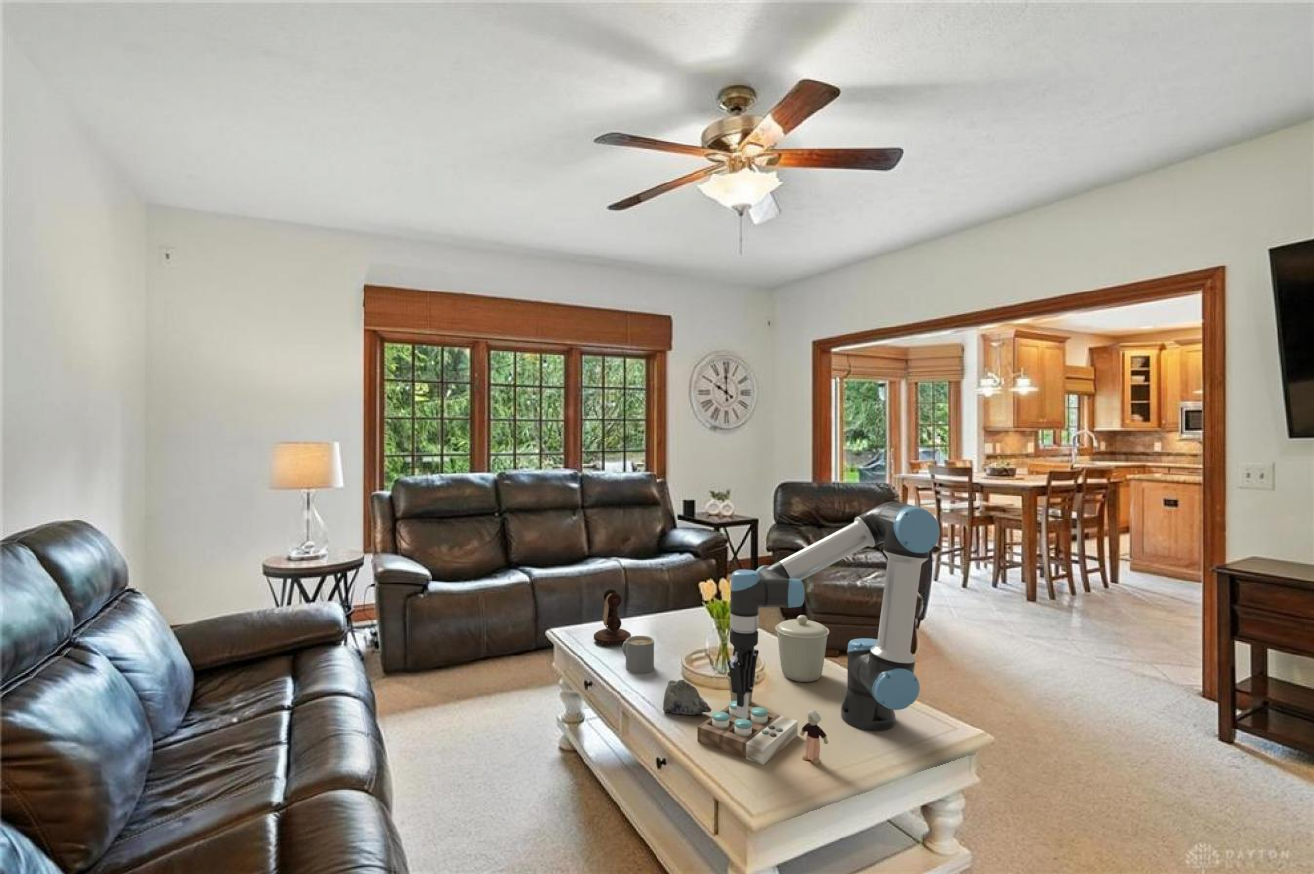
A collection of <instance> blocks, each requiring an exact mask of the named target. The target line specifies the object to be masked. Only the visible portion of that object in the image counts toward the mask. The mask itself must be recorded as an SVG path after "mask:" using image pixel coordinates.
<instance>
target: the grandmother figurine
mask: <svg viewBox="0 0 1314 874" xmlns="http://www.w3.org/2000/svg"><path fill="white" fill-rule="evenodd" d="M807 718H808V720H807V723H806V724H804V725H803V726H802V727H801V731H800V734H799V735H800V736H801V737H804V736H805V733H806V739H805V754H803V755H802V757H801V758H802V759H803V760H804V761H810V762H811V763H812V764H815V765H818V764H819V763H820V762H821V759H820V752H821V741H820V740H821V739H822V740H823V743H824V744H825V745H827V744H828V743H829V741H828V737H827V736H828V735H827V734H826V732H825V731H824V730H823V728H821V727H820V726H819V725H818V724H819V723H820V722H821V721H822V719H821V715H820V714H819V713H818V712H817V711H816V710H809V711H808V712H807ZM820 738H821V739H820Z"/></svg>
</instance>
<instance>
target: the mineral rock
mask: <svg viewBox="0 0 1314 874" xmlns="http://www.w3.org/2000/svg"><path fill="white" fill-rule="evenodd" d="M663 696H664V697H663V701H662V702H663V704H662V706H663V707H662V709H663V712H664V713H673V714H674V715H675V714H677V715H680V714H682V715H684V716H685V715H691V716H695V715H697V714H699V715H701V714H703V713H708V714H709V713H711V712H712V708H711V707H710V706H709V704H708V703H707V702H706V700H704V698H703V697H701V695H700V693H699V692H698V690H697V688H696V687H695V686H693V685H692V684H691V683H690V682H688V681H686V680H685V679H679V680H678V681H675V680H674V679H673V680H672V679H670V680H669V681H668V684H667V686H666V687H665V692H664V695H663Z"/></svg>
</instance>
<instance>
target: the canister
mask: <svg viewBox="0 0 1314 874" xmlns="http://www.w3.org/2000/svg"><path fill="white" fill-rule="evenodd" d="M774 628H775V631H776V632H777V642H778V651H779V661H780V666H781V667H780V668H781V671H782V674H783V675H784V676H785V677H786V678H787V679H789V680H792V681H796V682H801V683H803V682H804V683H811V682H815V681H817V680H819V679H820V677H821V676H822V674H823V671H824V665H825V664H824V663H825V658H826V648H827V642H828V641H827V639H828V635H829V634H830V630H829V628H828V627H826V626H825V625H823V624H822V623H820V622H817V621H813V620H809V619H808V617H807V616H806V615H804V614H800V615H798V616H797V617H796V618H794V619H787V620H783V621H781V622H779V623H778V624H776V625H775V627H774Z"/></svg>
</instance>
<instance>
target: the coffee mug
mask: <svg viewBox="0 0 1314 874" xmlns="http://www.w3.org/2000/svg"><path fill="white" fill-rule="evenodd" d="M621 647H622V654H623V655H624V657H625V670H626V671H627V672H629V673H632V674H636V675H637V674H642V675H643V674H648V673H651V672H652V671H653V670H655V639H654V638H653V637H651V636H648V635H634V636H633V635H631V637H629V638H627V639H626V641H625V642H623V644H622V646H621Z"/></svg>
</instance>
